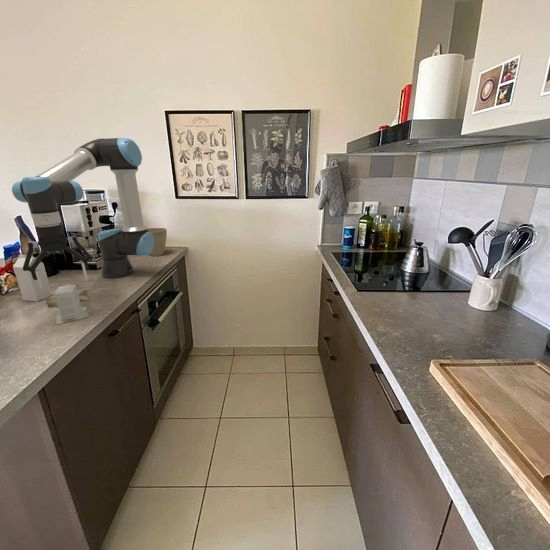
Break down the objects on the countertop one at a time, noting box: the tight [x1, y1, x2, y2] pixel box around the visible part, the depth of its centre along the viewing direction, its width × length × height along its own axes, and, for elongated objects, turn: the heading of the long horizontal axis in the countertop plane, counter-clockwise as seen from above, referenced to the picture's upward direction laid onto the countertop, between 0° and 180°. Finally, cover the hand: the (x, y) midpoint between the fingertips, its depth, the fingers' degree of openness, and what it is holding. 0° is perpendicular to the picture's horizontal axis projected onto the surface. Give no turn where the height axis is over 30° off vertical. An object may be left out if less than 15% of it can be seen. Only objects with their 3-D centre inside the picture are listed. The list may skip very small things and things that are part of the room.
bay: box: [44, 289, 90, 326], centre depth 116 cm, size 14×20×4 cm
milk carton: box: [12, 254, 53, 302], centre depth 126 cm, size 7×7×19 cm
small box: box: [54, 284, 83, 321], centre depth 111 cm, size 8×6×10 cm
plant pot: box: [147, 227, 168, 257], centre depth 190 cm, size 15×15×16 cm
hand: (65, 283), depth 109 cm, fingers open, 13 cm apart
